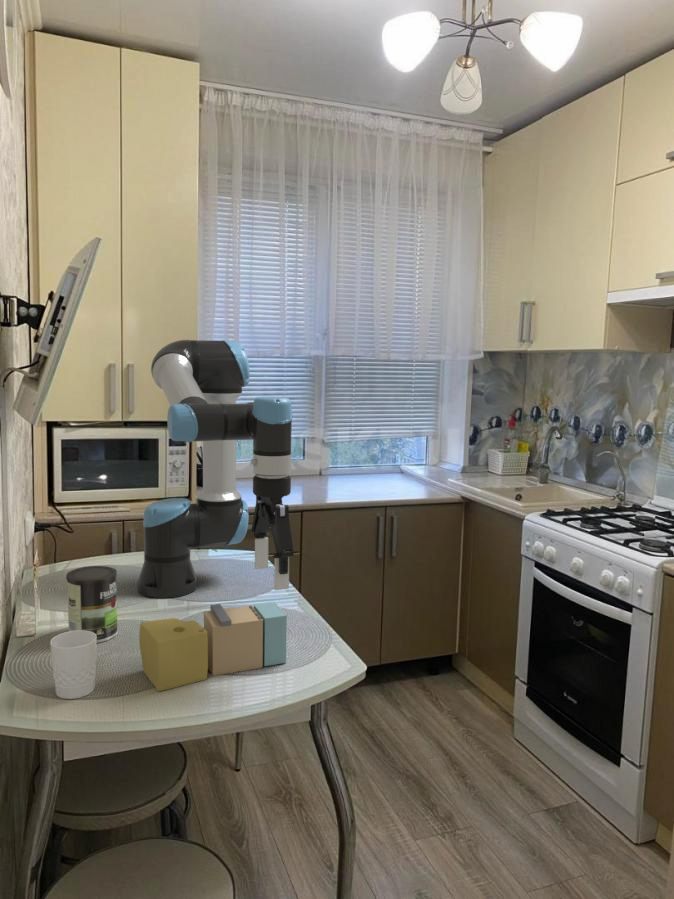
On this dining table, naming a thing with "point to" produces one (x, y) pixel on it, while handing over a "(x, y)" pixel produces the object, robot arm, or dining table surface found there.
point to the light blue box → (273, 633)
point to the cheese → (173, 652)
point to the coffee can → (93, 601)
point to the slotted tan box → (233, 639)
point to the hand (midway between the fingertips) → (271, 578)
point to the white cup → (74, 663)
